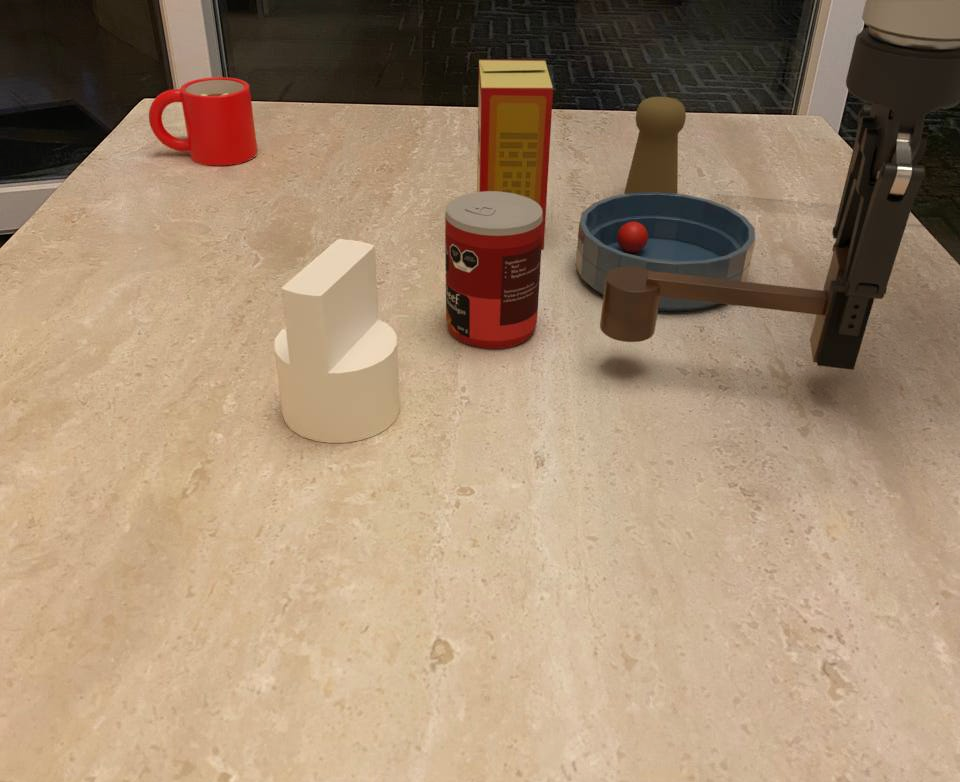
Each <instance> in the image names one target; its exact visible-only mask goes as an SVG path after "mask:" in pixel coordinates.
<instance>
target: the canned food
mask: <svg viewBox="0 0 960 782" xmlns="http://www.w3.org/2000/svg"><path fill="white" fill-rule="evenodd" d="M542 214H543V212H542V208H541V206H540V205H539V204H538V203H537V202H535V201H533V200H532V199H530V198H527V197H524V196H521V195H518V194H513V193H508V192H498V191H485V192H477V191H476V192H475V191H474V192H470V193H465V194H462V195H459V196H456V197H454V198H453V199H451V200H450V201H448V203H447V204H446V206H445V213H444V215H445V216H444V218H445V219H444V224H445V225H444V226H445V227H444V232H445V233H444V239H445V240H444V246H445V247H444V248H445V249H444V251H445V253H444V255H445V256H444V257H445V258H444V259H445V262H444V263H445V320H446V321H445V322H446V324H447V327H448V329H449V332H450V333H451V335H452V336H453V337H454V338H455V339H456V340H458V341H460V342H462V343H464V344H465V345H466V344H467V345H470V346H473V347H477V348H483V349H505V348H511V347H515V346H517V345H520V344H522V343H524V342H526V341H527V340H529V339H530V338H531V337H532V336H533V334H534V331H535V329H536V326H537V325H538V324H537V323H538V310H539V297H540V295H539V293H540V280H541V279H540V277H541V263H542V250H543V249H542V233H543V229H542V228H543V215H542Z"/></svg>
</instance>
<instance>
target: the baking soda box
mask: <svg viewBox="0 0 960 782" xmlns="http://www.w3.org/2000/svg"><path fill="white" fill-rule="evenodd" d="M477 95H478V97H477V98H478V100H477V104H478V105H477V107H478V108H477V162H476V163H477V164H476V165H477V167H476V172H477V173H476V176H477V178H476V192H485V191H498V192H508V193H513V194H518V195H521V196H524V197H527V198H530V199H532V200H533V201H535V202H537V203H538V204H539V205H540V206H541V208H542V212H543V214H542V215H543V228H542V229H543V233H542V249H541V250H544V249H545V233H546V232H545V231H546V218H547V217H546V216H547V215H546V214H547V200H548V184H549V183H548V182H549V168H550V167H549V166H550V150H551V149H550V147H551V135H552V134H551V132H552V131H551V130H552V113H553V97H554V87H553V84H552V79H551V77H550V73H549V69H548V65H547V61H546V59H478V94H477Z"/></svg>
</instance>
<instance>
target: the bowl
mask: <svg viewBox="0 0 960 782" xmlns="http://www.w3.org/2000/svg"><path fill="white" fill-rule="evenodd" d="M628 222H638V223H641V224H642V225H643V226H644V227H645V228H646V230H647V232H648V241H647V244H646V246H645V247H644V248H643V249H642V250H641V251H639V252H636V253H628V252H626V251H624V250H623V249H621V247H620V246H619V244H618V241H617V235H618V232H619V230H620V228H621V227H622V226H623V225H624V224H626V223H628ZM576 243H577V245H576V255H575V256H576V257H575V267H576V270H577V272H578V274H579V276H580V279H582V280H583V282H584V283H586V284H587V285H589V286H590V287H591V288H592V289H593V290H595V291H596V292H597V293H599V294H600V295H602V296H603V295H604V287H605V278H606V275H607V273H608V272H609V271H611V270H613V269H615V268H619V267H639V268H644V269H647V270H650V271H654V272H663V273H672V274H681V275H690V276H698V277H707V278H716V279H725V280H734V281H743V282H748V279H749V274H750V268H751V263H752V258H753V254H754V249H755V245H756V244H755V243H756V229H755V227H754V226H753V224H752V223H751V222H750V221H749V219H748V218H747V217H746V216H745V215H743V214H741V213H740V212H737V211H736V210H735V209H733V208H731V207H729V206H726V205H724V204H722V203H719V202H717V201H713V200H711V199H707V198H703V197H697V196H693V195H690V194H689V195H688V194H683V193H677V194H674V193H663V192H644V193H629V194H624V193H623V194H618V195H611V196H608V197H606V198H603V199H600V200H599V201H595V202H593V203H591V205H589V206H588V207H587V208H586V209H584V210H583V211H582V212H581V215H580V219H579V222H578V232H577V242H576ZM719 304H721V303H713V302H704V301H696V300H687V299H679V298H670V297H661V296H660V300H659V307H658V312H659V311H660V312H689V311H691V312H692V311H699V310H701V309H703V310H704V309H707V308H712V307H715V306H717V305H719Z"/></svg>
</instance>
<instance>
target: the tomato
mask: <svg viewBox="0 0 960 782" xmlns="http://www.w3.org/2000/svg"><path fill="white" fill-rule="evenodd" d="M617 241H618V244H619V246H620V247H621V249H623V250H624V251H626V252H628V253H636V252H639V251H641V250H642V249H643V248H644V247H645V246H646V244H647V241H648V232H647V230H646V228H645V227H644V226H643V225H642V224H641V223H638V222H628V223H626V224H624V225H623V226H622V227H621V228H620V230H619V232H618V235H617Z"/></svg>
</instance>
